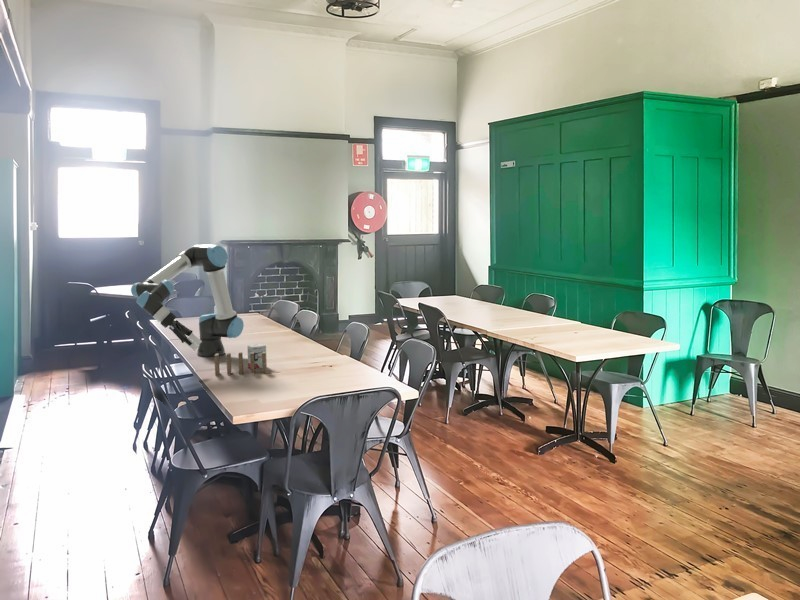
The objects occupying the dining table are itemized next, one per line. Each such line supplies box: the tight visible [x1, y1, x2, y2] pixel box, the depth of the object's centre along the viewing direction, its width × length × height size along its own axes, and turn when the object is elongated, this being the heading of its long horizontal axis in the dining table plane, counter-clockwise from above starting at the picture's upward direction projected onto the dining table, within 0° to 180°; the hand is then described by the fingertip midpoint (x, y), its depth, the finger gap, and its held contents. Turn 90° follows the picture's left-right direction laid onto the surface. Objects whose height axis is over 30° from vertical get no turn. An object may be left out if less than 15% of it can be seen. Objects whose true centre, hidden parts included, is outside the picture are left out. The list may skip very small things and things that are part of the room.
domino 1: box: [226, 352, 232, 375], centre depth 341 cm, size 5×2×10 cm, turn 9°
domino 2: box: [238, 352, 244, 375], centre depth 341 cm, size 5×2×10 cm, turn 9°
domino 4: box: [262, 351, 267, 374], centre depth 343 cm, size 5×2×10 cm, turn 9°
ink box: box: [247, 343, 268, 370], centre depth 353 cm, size 9×5×12 cm, turn 126°
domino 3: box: [250, 352, 256, 374], centre depth 342 cm, size 5×2×10 cm, turn 9°
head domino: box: [213, 353, 220, 376], centre depth 340 cm, size 5×2×10 cm, turn 9°
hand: (198, 346), depth 337 cm, fingers open, 13 cm apart
